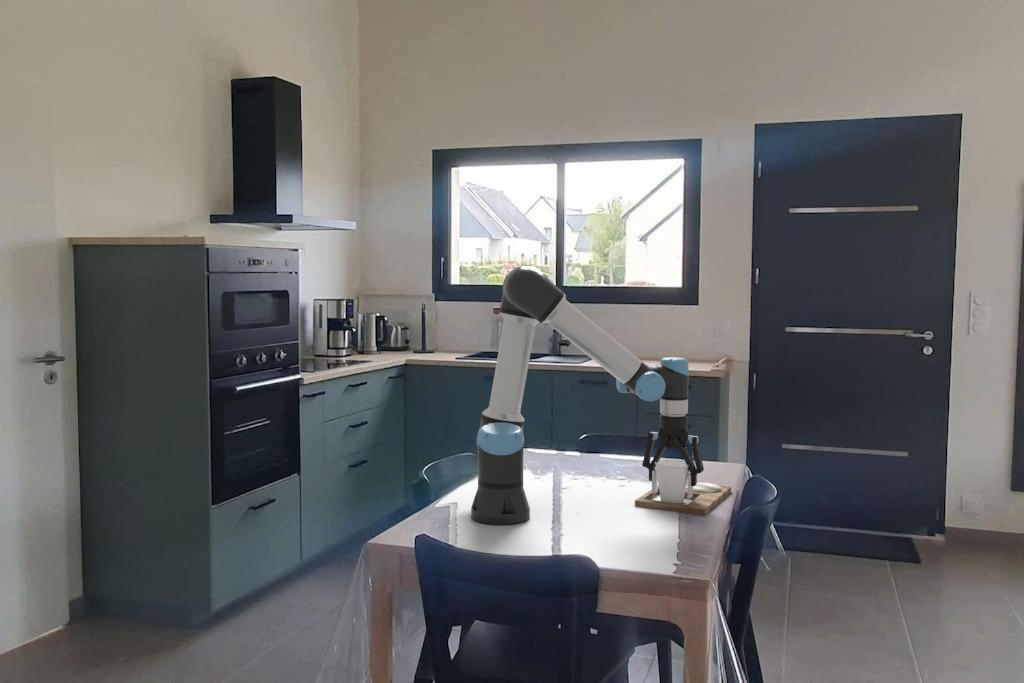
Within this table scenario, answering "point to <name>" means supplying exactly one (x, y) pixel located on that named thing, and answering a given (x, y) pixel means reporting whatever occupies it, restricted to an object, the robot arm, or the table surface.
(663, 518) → the table surface
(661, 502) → the board
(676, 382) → the robot arm
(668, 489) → the cup
